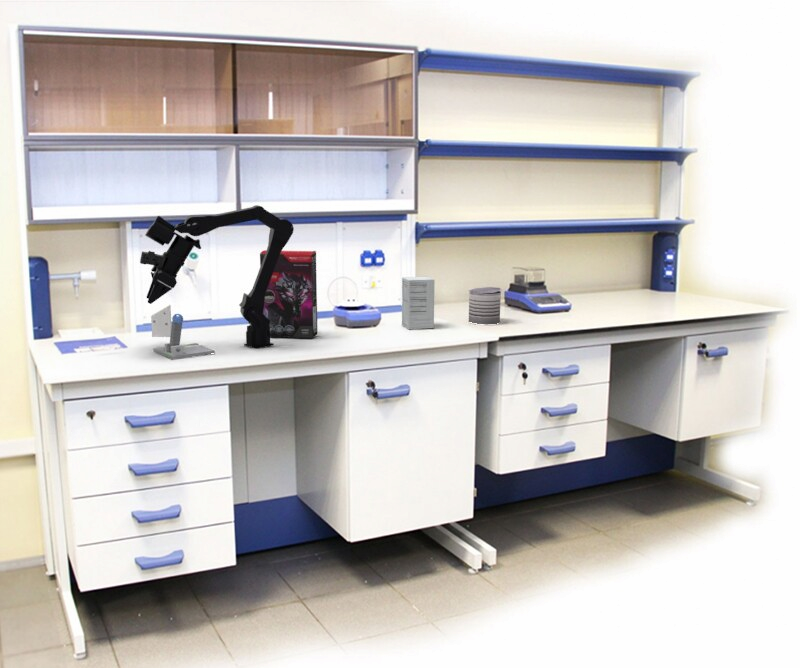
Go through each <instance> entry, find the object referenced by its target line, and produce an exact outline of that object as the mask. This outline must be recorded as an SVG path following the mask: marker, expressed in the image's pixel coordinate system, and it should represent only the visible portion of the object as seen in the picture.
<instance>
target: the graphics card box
mask: <svg viewBox="0 0 800 668" xmlns="http://www.w3.org/2000/svg"><path fill="white" fill-rule="evenodd" d="M266 250H267V249H265V250H262V251H261V252H260V253H259V262H260V263H259V265H260V267H261V264H262V261H263V259H264V256H265V253H266ZM260 267H259V268H260ZM317 287H318V286H317V251H316V250H312V251H311V250H309V251H308V250H282V251H281V253H280V256H279V258H278V261H277V264H276V266H275V269H274V272H273V275H272V277H271V280H270V283H269V285H268V288H267V291H266V294H265V302H264V310H263V314H264V315H265V316H266V317H267V318H268V319H269V320H270V324H269V325H270V338H294V339H295V338H296V339H297V338H298V339H300V338H303V339H310V338H311V339H312V338H315V337H316V336H317V335H318V333H319V331H318V326H319V325H318V296H317V295H318V294H317Z"/></svg>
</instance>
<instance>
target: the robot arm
mask: <svg viewBox="0 0 800 668" xmlns="http://www.w3.org/2000/svg"><path fill="white" fill-rule="evenodd" d="M255 220H257V221H259V222H261V224H263V225H264V226H266V227H268V228H269V235H268V245H267V248H266V249H265V250H266V253H265V256H264V259H263V261H262V264H261V267H259V270H258V273H257V276H256V277H255V281H254V284H253V287H252V289H251V290H250V292H249V293H248V294H247V293H245V292H244V293H243V296H242V299H241V301H240V303H239V304H238V305H239V307H240V310H239V311H240V314H241V316H242V317H243V318H244V319H245V320H246V322H247V323H248V324H249V325H247V326H246V332H245V343H244V344H243V345H244V346H245V345H246V347H249V346H250V348H253V347H254V349H260V347H262V348H266V347H265V346H267V347H272V346H271V345H273V346H274V343H272V342H271V337H270V325H269V324H270V320H269V319H268V318H267V317H266V316H265V315H264V314H263V310H264V302H265V294H266V291H267V288H268V285H269V283H270V280H271V277H272V275H273V272H274V269H275V266H276V264H277V261H278V258H279V256H280V253H281V251H283V249H284V248H285V246H286V245H287V244H288V243H289V240H290V239H291V237H292V235H293V233H294V225H293V223H292V222H291V221H290V220H289V219H286V218H282V217H277V216H276V215H275V214H273V213H271V212H270V211H268V210H267V209H266V208H264V207H263V206H261V205H258V204H257V205H253V206H250V207H246V208H240V209H236V210H230V211H226V212H225V211H224V212H221V213H216V214H193V215H189V216H187V217H186V218H185V219H184V221H183V222H180V223H176V224H175V225H173V224H171V222H169V221H167V220H166V219H164V218H163V217H161V216H160V215H157V216H156V218H155V219H154V221H153V223H152V224H150V225H149V227H148V229H147V231H146V233H145V234H144V236H146V237H147V238H149V239H150V240H152V241H153V242H156V243H157V244H158V245H161V246H162V247H163V246H164V245H168V246H169V244H170V243H171V244H170V246H169V247H168V249H167V250H166V251H164V252H163V253H162V254H158V253H155V251H152V250H148V251H141V255H140V259H139V263H140V264H141V265H150V266H152V268H151V271H150V275H151V278H152V280H151V283H150V286H149V290H148V292H147V295H146V299H148V300H147V304H150V305H152V304H153V303H154V302H156V301H157V300H159V299H160V298H162V297H163V296H164V295H165V294H167V293H169V292H170V291H171V290H173V289H174V288H175V286H176V285H177V283H178V282H177V276H178V273H179V271H180V270H181V268H182V267H184V265H185V262H186V260H187V259H188V257H189V255H190V254H191V252H192V250H193V249H194V248H196V249H199V250H201V249H202V246H201V240H200V239H199V238H198V239H195V238H193V237H199V236H202V235H204V234H207V233H209V232H211V231H214V230H217V229H219V228H222V227H227V226H232V225H236V224H237V225H238V224H241V223H246V222H250V221H255ZM175 231H177V232H175ZM178 233H180V234H178ZM181 234H186V235H185V236H183V235H181ZM187 234H188V235H187ZM189 235H190V236H189ZM173 238H174V239H173ZM172 240H173V241H172Z"/></svg>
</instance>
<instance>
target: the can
mask: <svg viewBox="0 0 800 668" xmlns="http://www.w3.org/2000/svg"><path fill="white" fill-rule="evenodd" d="M501 292H502V288H501V287H493V286H486V287H484V286H483V287H474V288H472V289H469V290H468V293H469V294H468V295H469V298H468V299H469V300H468V323H469V322H472V323H477V324H496V325H498V324H497V323H499V322H500V323H501V301H502V300H501V297H502V295H501V294H502V293H501ZM500 323H499V324H500Z"/></svg>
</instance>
